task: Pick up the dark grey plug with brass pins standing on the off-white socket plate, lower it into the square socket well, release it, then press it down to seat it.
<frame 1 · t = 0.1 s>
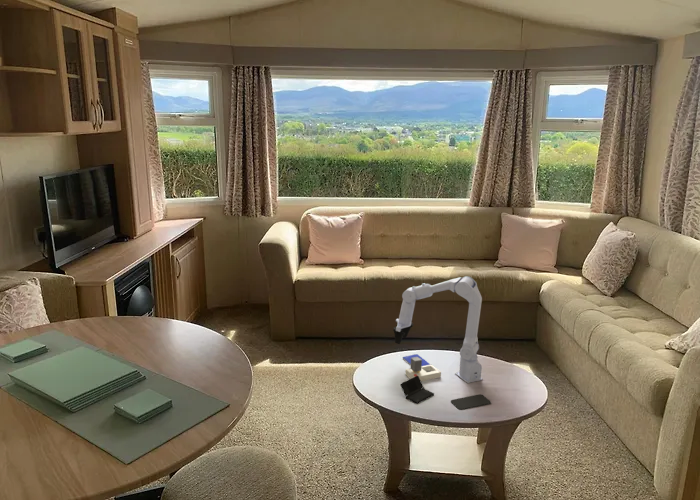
hand: (400, 340, 248), 11 cm above the table, tool pointing down, fingers open, 7 cm apart
plug: (415, 371, 235), point 2 cm above the table, touching socket plate
hard drive: (416, 364, 250), on the table
phone: (470, 403, 216), on the table
socket plate: (423, 375, 237), on the table
handheld gaming console: (416, 396, 221), on the table
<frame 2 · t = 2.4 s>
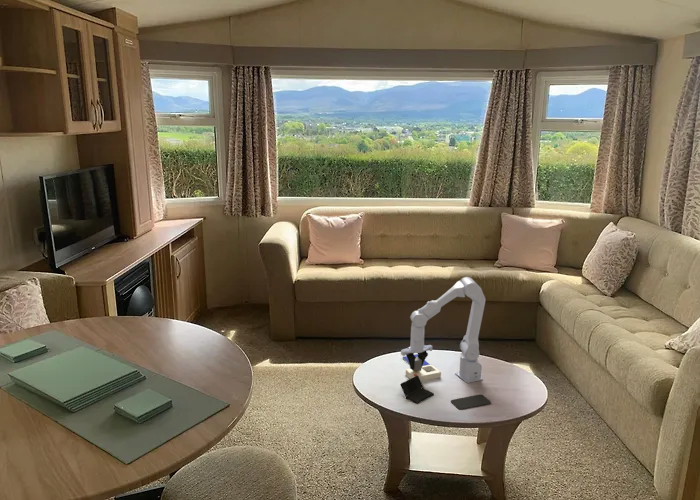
hand: (415, 368, 235), 4 cm above the table, tool pointing down, fingers closed on plug, 3 cm apart
plug: (415, 371, 235), point 2 cm above the table, touching gripper, socket plate
everything else where it was.
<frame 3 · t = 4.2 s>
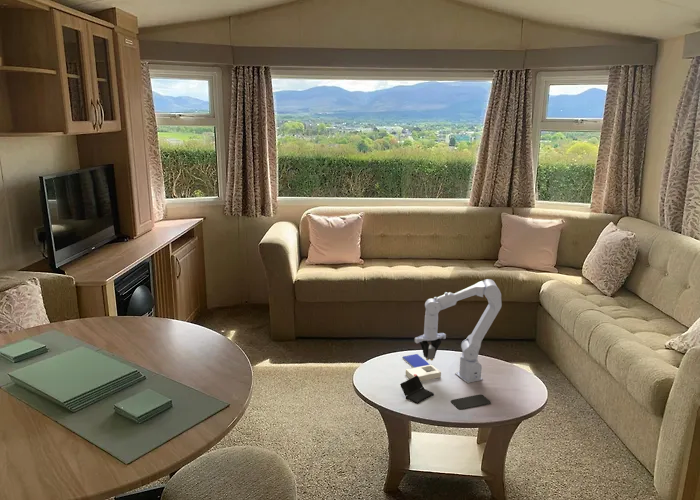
hand: (429, 355, 236), 9 cm above the table, tool pointing down, fingers closed on plug, 3 cm apart
plug: (429, 359, 237), point 7 cm above the table, touching gripper
everything else where it was.
when the fingers open (3 cm above the table, at t = 5.8 s): plug stays where it is, resting on socket plate.
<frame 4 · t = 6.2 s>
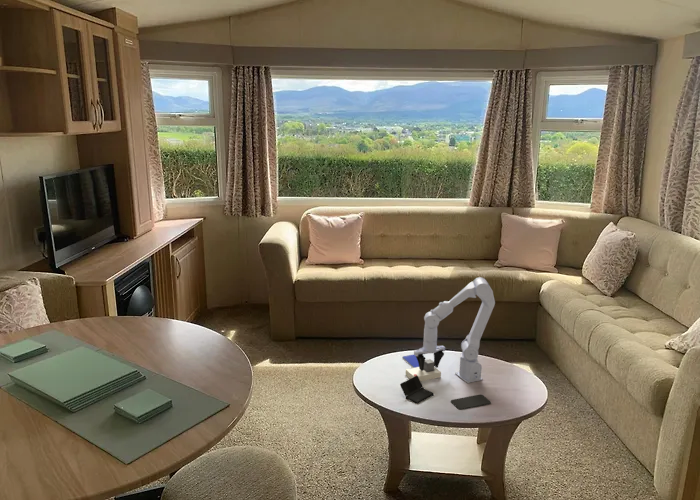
hand: (428, 368, 238), 3 cm above the table, tool pointing down, fingers open, 7 cm apart
plug: (428, 373, 238), resting on socket plate
everything else where it was.
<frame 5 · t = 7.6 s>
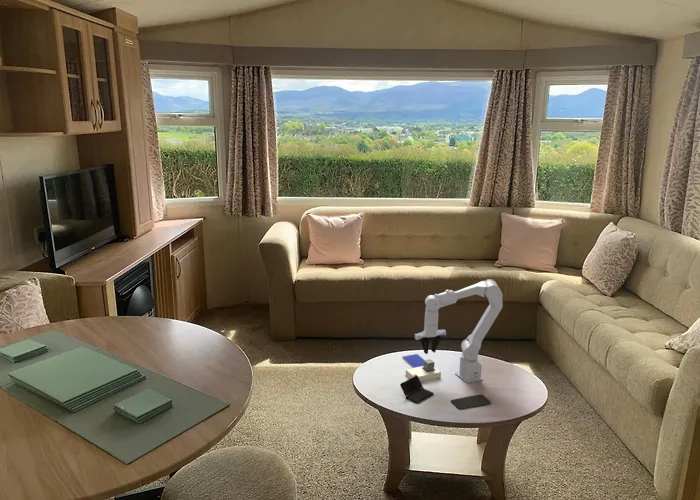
hand: (429, 352, 236), 10 cm above the table, tool pointing down, fingers open, 3 cm apart
nothing on the table moved.
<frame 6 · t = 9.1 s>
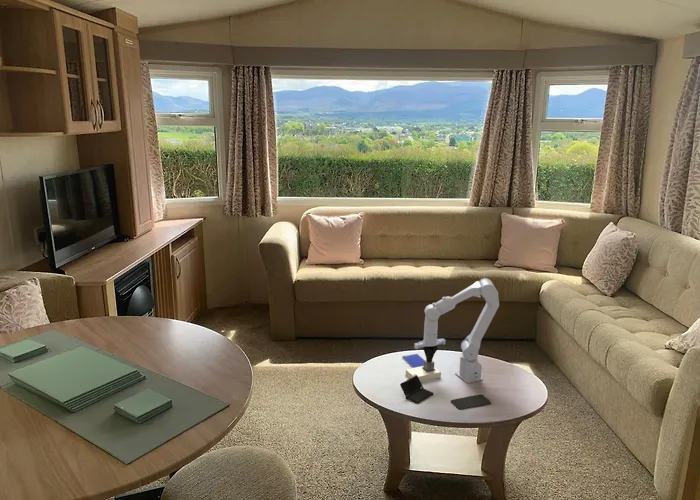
hand: (429, 361, 237), 6 cm above the table, tool pointing down, fingers closed, pressing on plug
plug: (428, 373, 238), resting on socket plate, touching gripper
everything else where it was.
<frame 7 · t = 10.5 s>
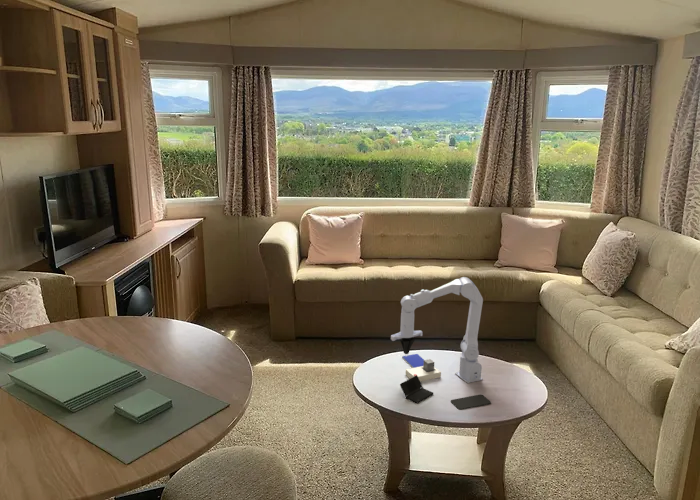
hand: (406, 353, 235), 10 cm above the table, tool pointing down, fingers closed
plug: (428, 373, 238), resting on socket plate
everything else where it was.
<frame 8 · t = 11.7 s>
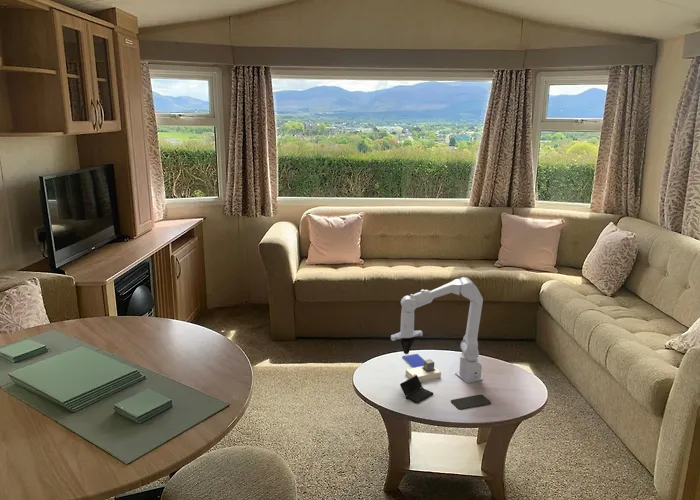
hand: (406, 353, 235), 10 cm above the table, tool pointing down, fingers closed
nothing on the table moved.
at the end: plug 0.0 cm from the target spot on the socket plate, point 0.2 cm above the socket plate's base; plug tilted 0°; the gripper is holding nothing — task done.
